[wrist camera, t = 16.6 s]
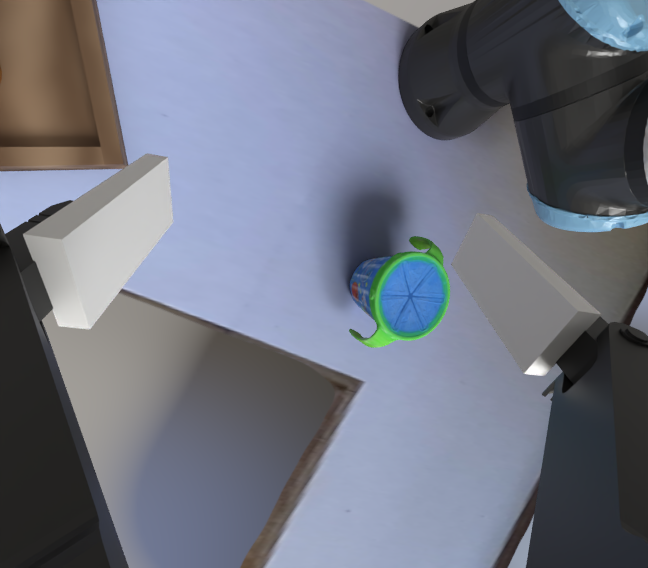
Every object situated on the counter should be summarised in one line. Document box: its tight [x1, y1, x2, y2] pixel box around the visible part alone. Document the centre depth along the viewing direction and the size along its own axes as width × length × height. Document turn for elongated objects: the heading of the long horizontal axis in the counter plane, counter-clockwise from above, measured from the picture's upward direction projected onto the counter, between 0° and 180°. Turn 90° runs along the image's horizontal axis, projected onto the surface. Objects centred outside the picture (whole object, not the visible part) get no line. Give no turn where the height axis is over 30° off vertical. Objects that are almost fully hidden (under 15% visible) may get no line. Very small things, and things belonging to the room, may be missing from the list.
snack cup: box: [349, 236, 450, 347], centre depth 42 cm, size 16×10×10 cm
